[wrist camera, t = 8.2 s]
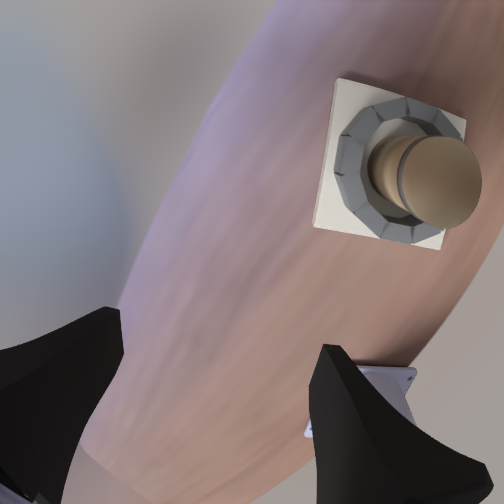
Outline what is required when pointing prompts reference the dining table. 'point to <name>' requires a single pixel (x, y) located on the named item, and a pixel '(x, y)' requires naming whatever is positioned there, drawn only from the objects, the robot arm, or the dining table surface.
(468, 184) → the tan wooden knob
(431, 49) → the dining table surface
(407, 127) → the collar stand
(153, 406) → the dining table surface
